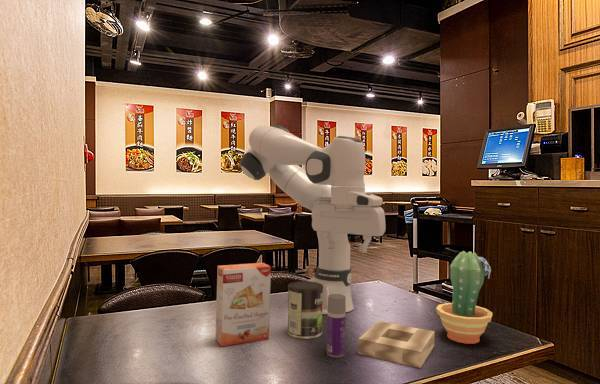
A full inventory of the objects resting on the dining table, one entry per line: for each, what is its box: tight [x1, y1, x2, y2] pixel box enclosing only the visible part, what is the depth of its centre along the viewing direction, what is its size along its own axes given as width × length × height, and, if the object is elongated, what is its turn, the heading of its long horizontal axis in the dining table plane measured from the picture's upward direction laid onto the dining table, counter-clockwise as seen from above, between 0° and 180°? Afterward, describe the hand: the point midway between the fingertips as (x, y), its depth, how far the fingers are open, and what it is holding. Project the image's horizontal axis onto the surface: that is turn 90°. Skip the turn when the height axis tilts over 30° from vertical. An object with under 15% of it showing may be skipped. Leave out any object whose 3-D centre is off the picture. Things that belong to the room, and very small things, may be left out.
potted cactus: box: [435, 250, 493, 345], centre depth 120 cm, size 15×15×25 cm
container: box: [326, 294, 347, 358], centre depth 107 cm, size 5×5×15 cm
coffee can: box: [287, 280, 323, 340], centre depth 122 cm, size 10×10×14 cm
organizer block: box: [357, 320, 436, 369], centre depth 110 cm, size 16×16×4 cm
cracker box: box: [215, 262, 272, 347], centre depth 115 cm, size 14×6×21 cm, turn 117°
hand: (346, 250), depth 109 cm, fingers open, 8 cm apart
